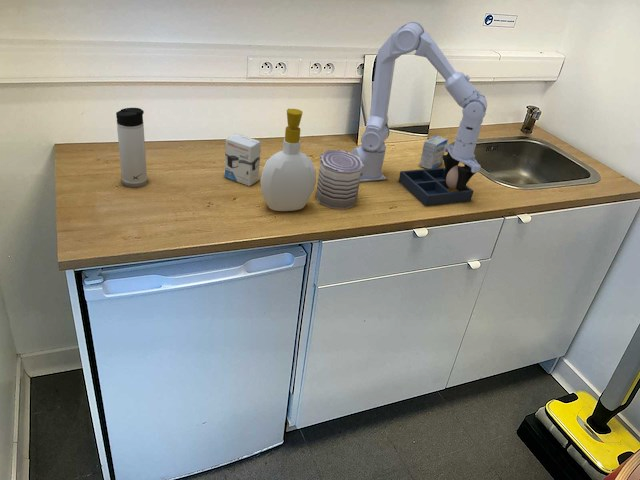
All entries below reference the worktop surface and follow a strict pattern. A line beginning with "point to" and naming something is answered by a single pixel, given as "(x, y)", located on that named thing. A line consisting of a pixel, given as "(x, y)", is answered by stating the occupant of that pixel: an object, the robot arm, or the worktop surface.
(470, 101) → the robot arm
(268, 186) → the soap bottle
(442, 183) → the divided tray
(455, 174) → the egg
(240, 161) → the ink box
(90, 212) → the worktop surface
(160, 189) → the worktop surface
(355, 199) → the can
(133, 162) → the travel mug
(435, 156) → the medicine box
